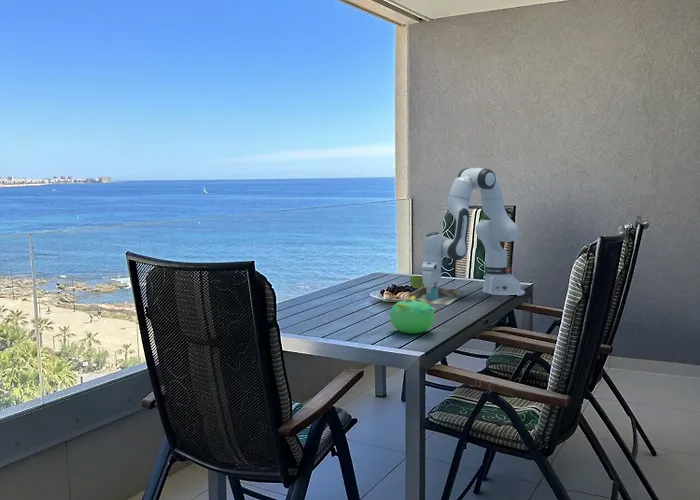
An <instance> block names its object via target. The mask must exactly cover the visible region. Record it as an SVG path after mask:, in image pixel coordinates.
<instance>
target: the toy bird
mask: <svg viewBox="0 0 700 500" xmlns="http://www.w3.org/2000/svg"><path fill="white" fill-rule="evenodd" d="M436 310H437V308H436V307H432V306H431V305H430V303H427V302H425V301H422V300H419V299H416V298H415V296H411V297H410V298H409V297H408V298H405V299H401V300H400V301H398V302H396V303H395V304H394V305H393V306H392V308H391V310H390V313H389V318H390V323H391V324H392V326H393V327H394V328H395V329H396V330H397V331H399V332H401V333H405V334H420V333H424V332H426V331H427V330H429V329H430V328H431V327H432V325H433V324H434V321H435V317H436V316H435V311H436Z"/></svg>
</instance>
